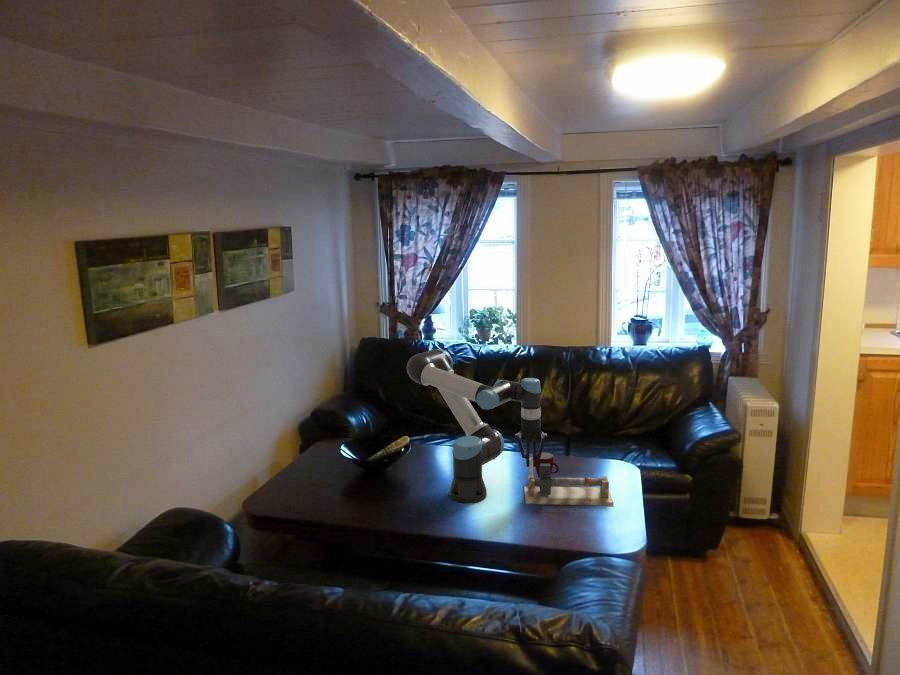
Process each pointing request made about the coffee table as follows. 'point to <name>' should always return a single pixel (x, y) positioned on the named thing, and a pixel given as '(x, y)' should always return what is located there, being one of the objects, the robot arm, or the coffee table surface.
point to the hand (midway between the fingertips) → (531, 474)
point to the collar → (545, 479)
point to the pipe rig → (570, 491)
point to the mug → (546, 462)
